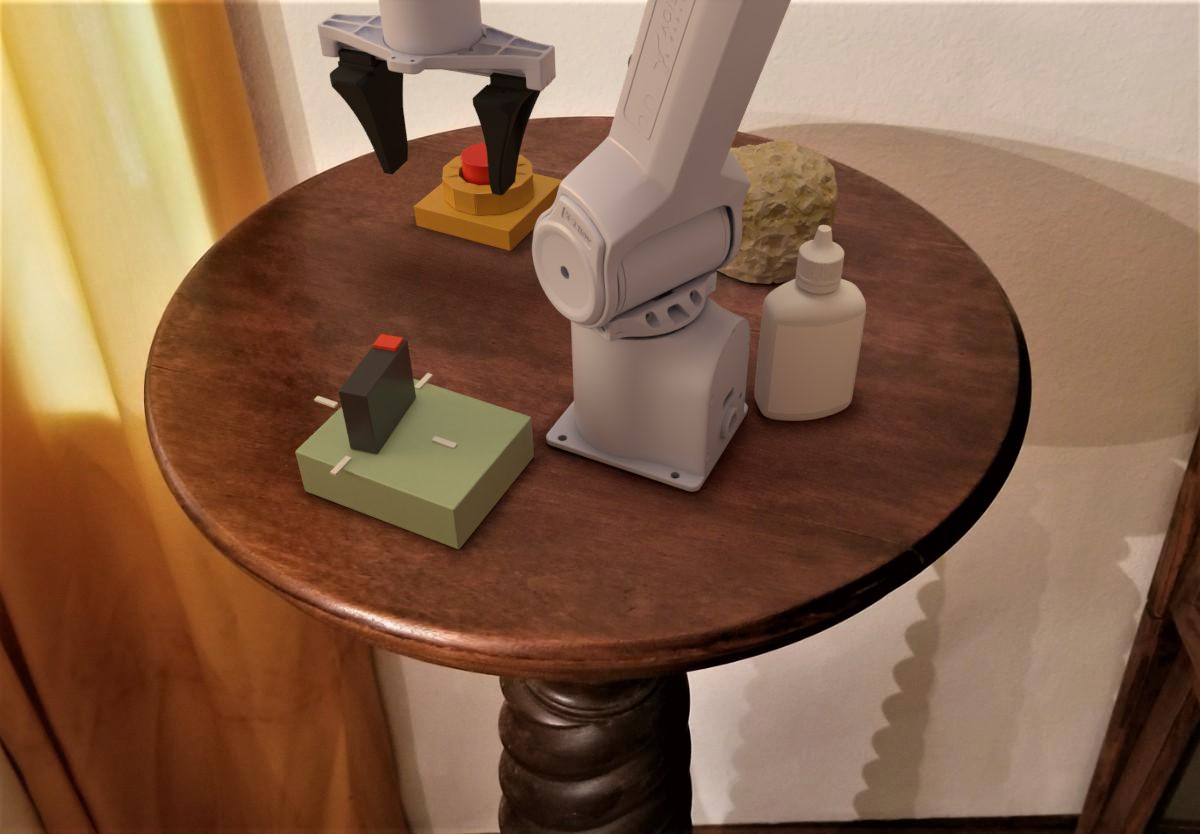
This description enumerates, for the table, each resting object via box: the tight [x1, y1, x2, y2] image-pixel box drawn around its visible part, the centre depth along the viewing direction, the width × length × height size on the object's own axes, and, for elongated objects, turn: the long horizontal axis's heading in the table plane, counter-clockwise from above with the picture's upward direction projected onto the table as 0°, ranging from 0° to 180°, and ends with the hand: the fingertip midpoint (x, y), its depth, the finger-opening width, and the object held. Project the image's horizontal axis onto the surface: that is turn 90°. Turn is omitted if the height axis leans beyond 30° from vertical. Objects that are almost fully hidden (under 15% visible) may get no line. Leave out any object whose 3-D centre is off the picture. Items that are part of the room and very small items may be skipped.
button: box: [460, 142, 490, 185], centre depth 83 cm, size 4×4×2 cm
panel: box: [295, 372, 535, 550], centre depth 63 cm, size 12×9×3 cm
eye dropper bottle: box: [753, 225, 867, 422], centre depth 64 cm, size 4×6×12 cm
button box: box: [413, 153, 563, 252], centre depth 84 cm, size 8×8×4 cm
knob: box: [338, 333, 416, 454], centre depth 61 cm, size 5×2×4 cm, turn 163°
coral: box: [717, 138, 839, 285], centre depth 78 cm, size 9×9×8 cm
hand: (448, 176), depth 73 cm, fingers open, 7 cm apart
